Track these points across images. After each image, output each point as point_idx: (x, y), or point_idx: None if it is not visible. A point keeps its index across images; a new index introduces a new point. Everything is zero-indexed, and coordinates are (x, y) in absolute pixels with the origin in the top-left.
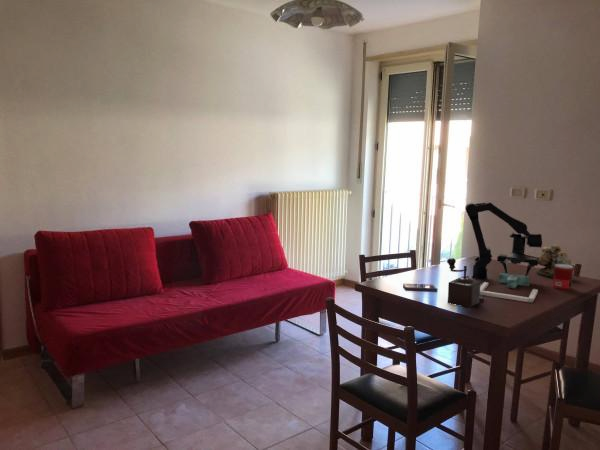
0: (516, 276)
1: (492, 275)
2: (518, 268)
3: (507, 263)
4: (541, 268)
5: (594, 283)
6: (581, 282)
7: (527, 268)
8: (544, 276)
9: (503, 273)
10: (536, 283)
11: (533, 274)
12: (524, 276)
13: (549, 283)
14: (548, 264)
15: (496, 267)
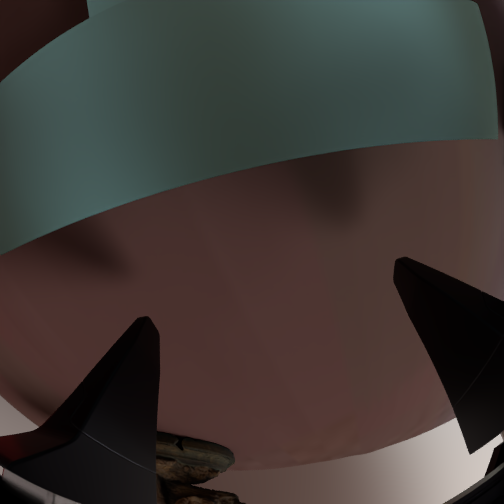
0: (133, 8)
1: (475, 259)
2: (330, 447)
3: (461, 420)
4: (213, 476)
5: (21, 413)
6: (36, 413)
7: (74, 431)
8: (165, 435)
9: (462, 98)
10: (60, 288)
11: (234, 438)
12: (29, 175)
13: (38, 345)
14: (178, 498)
15: (422, 404)
